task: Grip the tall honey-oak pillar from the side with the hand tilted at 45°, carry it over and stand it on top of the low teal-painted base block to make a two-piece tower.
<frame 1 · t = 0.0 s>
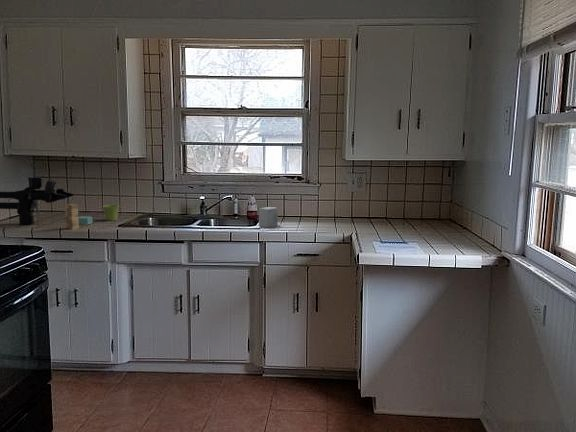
hand: (69, 195, 296), 17 cm above the counter, tool horizontal, fingers open, 9 cm apart
plant pot: (111, 220, 316), on the counter
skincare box: (268, 226, 302), on the counter
base block: (84, 224, 303), on the counter
oak pillar: (72, 228, 287), on the counter
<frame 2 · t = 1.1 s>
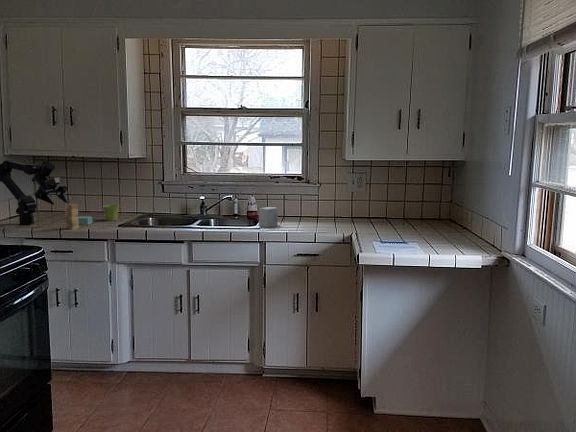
hand: (60, 203, 288), 13 cm above the counter, tool tilted 45°, fingers open, 9 cm apart
nothing on the counter moved.
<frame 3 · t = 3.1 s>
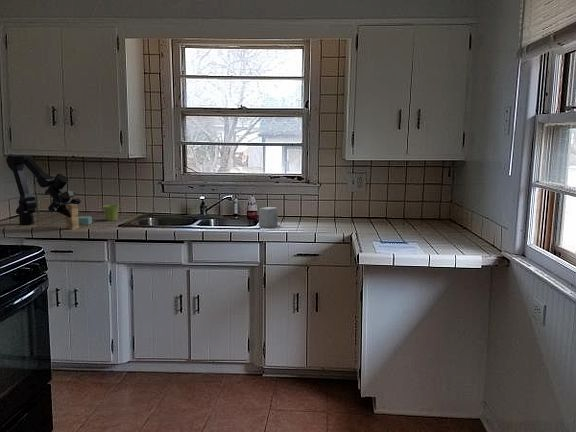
hand: (73, 216, 285), 7 cm above the counter, tool tilted 45°, fingers closed on oak pillar, 4 cm apart
oak pillar: (72, 228, 287), on the counter, touching gripper
everything else where it was.
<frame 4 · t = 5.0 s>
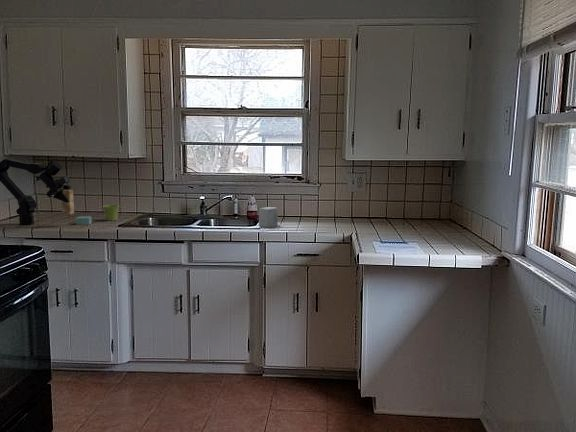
hand: (70, 201, 294), 13 cm above the counter, tool tilted 45°, fingers closed on oak pillar, 4 cm apart
oak pillar: (68, 213, 295), point 7 cm above the counter, touching gripper
everything else where it was.
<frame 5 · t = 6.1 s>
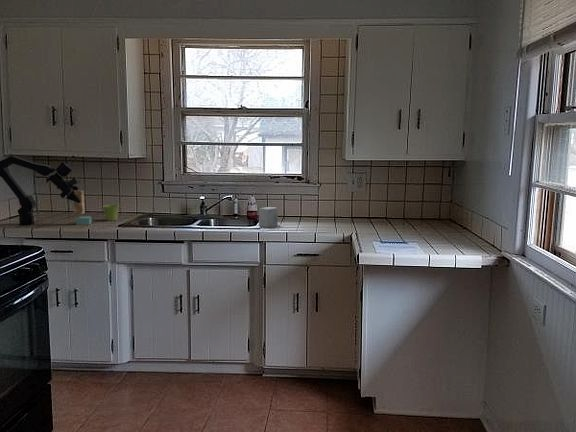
hand: (81, 202, 301), 12 cm above the counter, tool tilted 45°, fingers closed on oak pillar, 4 cm apart
oak pillar: (79, 213, 302), point 6 cm above the counter, touching gripper
everything else where it was.
when the fingers open (11 cm above the counter, at t = 6.9 s): oak pillar drops 1 cm, resting on base block.
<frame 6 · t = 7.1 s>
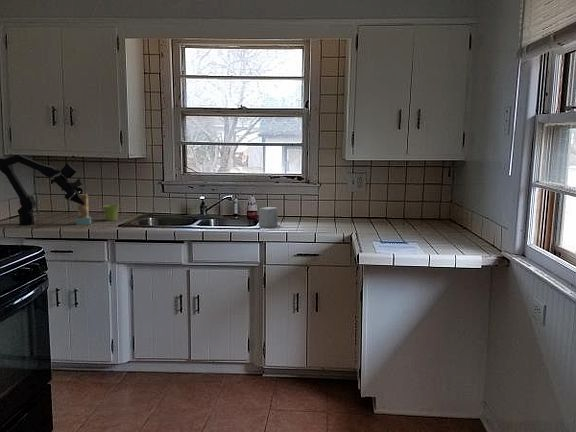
hand: (85, 203, 301), 12 cm above the counter, tool tilted 45°, fingers open, 7 cm apart
base block: (84, 224, 303), on the counter, touching oak pillar
oak pillar: (83, 217, 302), point 4 cm above the counter, touching base block
everything else where it was.
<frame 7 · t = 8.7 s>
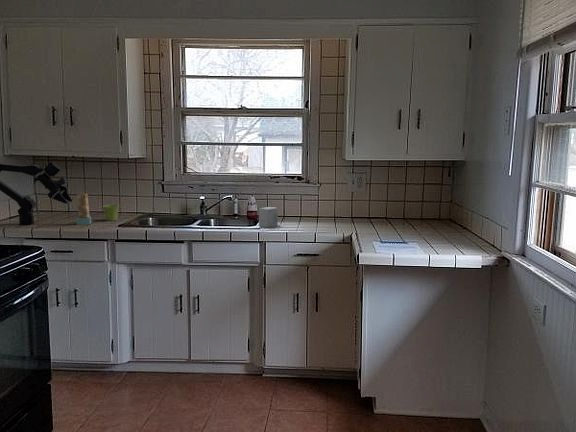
hand: (69, 202, 300), 12 cm above the counter, tool tilted 45°, fingers open, 9 cm apart
base block: (84, 224, 303), on the counter
oak pillar: (84, 217, 302), point 4 cm above the counter
everything else where it was.
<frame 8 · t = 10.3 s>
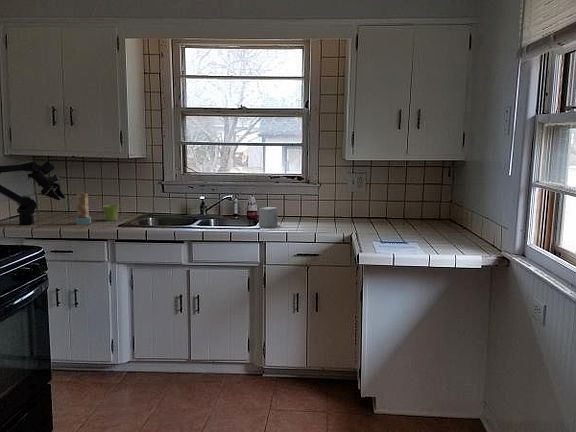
hand: (62, 199, 305), 14 cm above the counter, tool tilted 45°, fingers open, 9 cm apart
base block: (84, 224, 303), on the counter, touching oak pillar
oak pillar: (83, 216, 302), point 4 cm above the counter, tilted 5°, touching base block
everything else where it was.
at the end: oak pillar 0.0 cm off-centre on the base block, point 4.2 cm above the base block's base; oak pillar tilted 6°; the gripper is holding nothing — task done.
